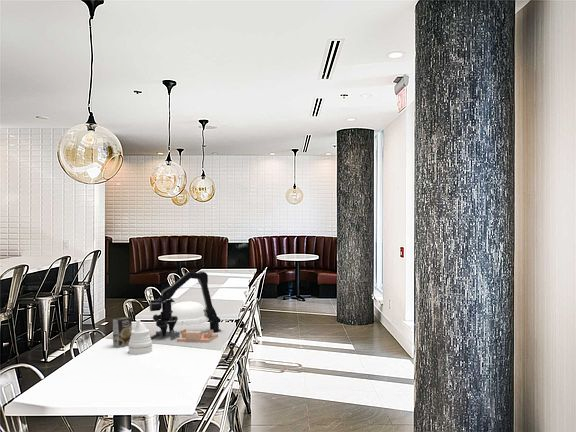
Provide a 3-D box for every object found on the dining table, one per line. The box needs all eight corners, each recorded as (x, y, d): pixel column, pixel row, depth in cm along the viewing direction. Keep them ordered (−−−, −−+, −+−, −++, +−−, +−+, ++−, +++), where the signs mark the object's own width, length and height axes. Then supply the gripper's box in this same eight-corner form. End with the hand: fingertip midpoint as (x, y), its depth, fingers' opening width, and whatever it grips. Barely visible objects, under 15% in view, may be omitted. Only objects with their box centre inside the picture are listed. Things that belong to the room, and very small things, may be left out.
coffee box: (119, 347, 323) (118, 320, 323) (112, 346, 327) (112, 319, 327) (132, 344, 330) (131, 317, 330) (125, 343, 334) (125, 316, 334)
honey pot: (146, 354, 305) (145, 321, 305) (124, 354, 307) (123, 321, 307) (156, 349, 317) (155, 317, 317) (135, 348, 320) (134, 317, 320)
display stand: (187, 335, 351) (187, 327, 351) (217, 336, 346) (217, 327, 346) (177, 341, 335) (176, 332, 335) (208, 342, 331) (207, 333, 331)
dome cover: (204, 325, 383) (203, 305, 383) (161, 326, 384) (160, 306, 384) (211, 317, 415) (211, 298, 415) (171, 318, 416) (170, 299, 416)
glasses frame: (157, 335, 353) (157, 329, 353) (179, 336, 350) (179, 329, 350) (149, 339, 343) (149, 332, 343) (172, 340, 339) (172, 333, 339)
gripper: (161, 307, 361) (162, 331, 361) (148, 312, 343) (148, 337, 343) (177, 307, 358) (178, 331, 358) (164, 312, 340) (165, 338, 340)
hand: (167, 334), depth 350 cm, fingers open, 9 cm apart
